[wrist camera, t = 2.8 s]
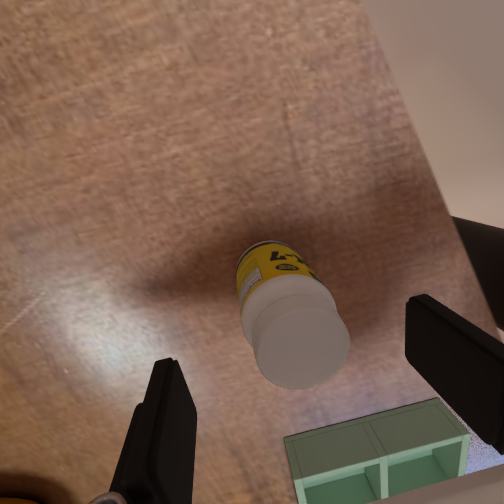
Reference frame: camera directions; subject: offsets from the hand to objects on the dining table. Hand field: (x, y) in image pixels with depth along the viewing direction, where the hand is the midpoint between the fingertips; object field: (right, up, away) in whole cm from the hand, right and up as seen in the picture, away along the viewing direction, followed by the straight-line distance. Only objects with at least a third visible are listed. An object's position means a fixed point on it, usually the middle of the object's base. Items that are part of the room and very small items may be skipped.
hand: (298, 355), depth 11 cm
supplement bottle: (-1, +3, +8) cm, 9 cm away
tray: (+11, -22, +18) cm, 30 cm away
